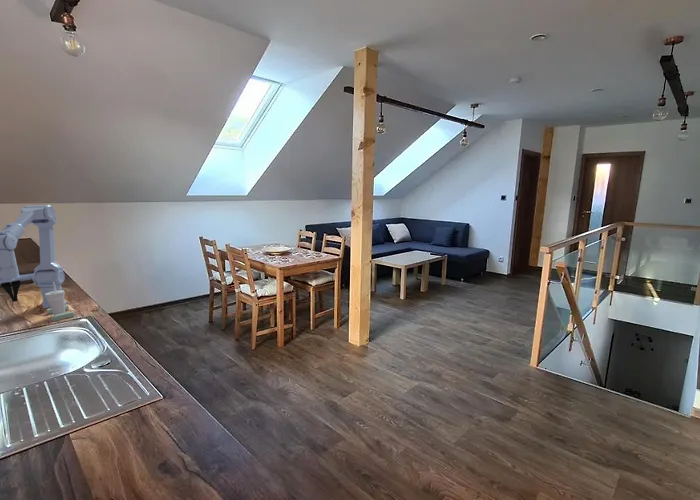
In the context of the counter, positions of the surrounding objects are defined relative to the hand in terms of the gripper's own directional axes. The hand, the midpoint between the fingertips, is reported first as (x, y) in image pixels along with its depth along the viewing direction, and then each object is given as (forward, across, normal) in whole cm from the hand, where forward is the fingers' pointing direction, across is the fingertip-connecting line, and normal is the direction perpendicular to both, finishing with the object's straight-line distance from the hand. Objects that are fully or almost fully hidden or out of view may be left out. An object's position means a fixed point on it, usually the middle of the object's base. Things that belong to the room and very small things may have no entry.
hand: (14, 300), depth 142 cm
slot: (+10, +13, 0) cm, 16 cm away
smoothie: (+10, +12, 0) cm, 16 cm away
